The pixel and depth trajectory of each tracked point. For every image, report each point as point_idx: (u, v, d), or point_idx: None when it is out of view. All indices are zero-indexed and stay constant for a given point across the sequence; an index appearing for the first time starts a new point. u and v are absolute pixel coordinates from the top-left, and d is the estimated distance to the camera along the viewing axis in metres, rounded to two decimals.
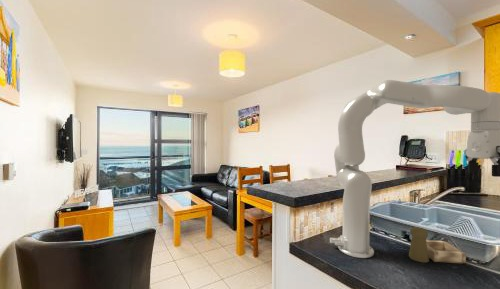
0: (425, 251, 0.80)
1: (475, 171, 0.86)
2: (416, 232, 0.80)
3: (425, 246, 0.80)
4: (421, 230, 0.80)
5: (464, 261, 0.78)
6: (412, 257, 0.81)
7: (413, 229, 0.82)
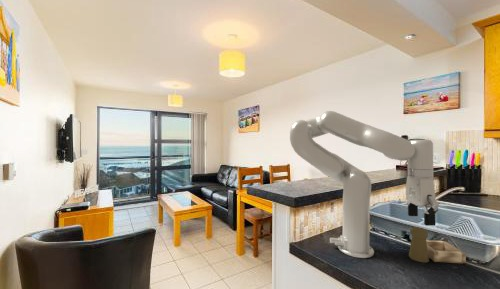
0: (425, 251, 0.80)
1: (415, 215, 0.86)
2: (416, 232, 0.80)
3: (425, 246, 0.80)
4: (421, 230, 0.80)
5: (464, 261, 0.78)
6: (412, 257, 0.81)
7: (413, 229, 0.82)
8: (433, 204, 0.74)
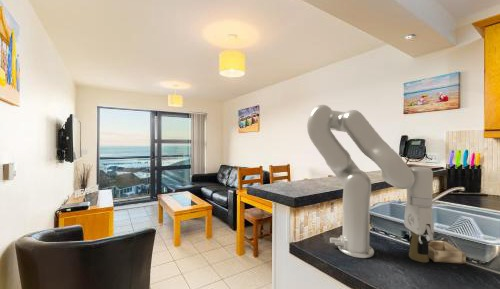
0: None
1: None
2: None
3: None
4: None
5: (464, 261, 0.78)
6: (412, 257, 0.81)
7: None
8: (428, 238, 0.76)
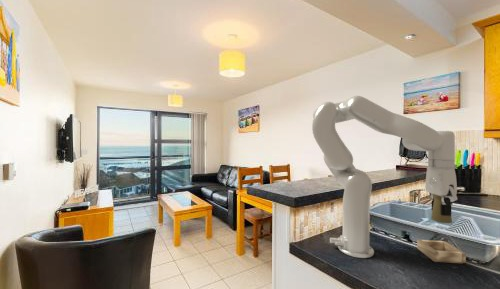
0: None
1: None
2: None
3: None
4: None
5: (464, 261, 0.78)
6: (435, 219, 0.83)
7: None
8: (452, 197, 0.78)
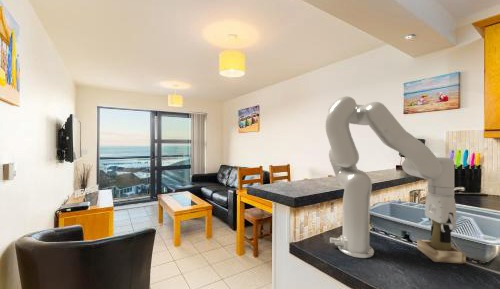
0: None
1: None
2: None
3: None
4: None
5: (464, 261, 0.78)
6: (434, 245, 0.83)
7: None
8: (451, 226, 0.78)
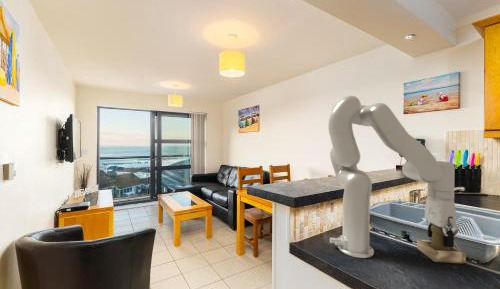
0: (446, 247, 0.81)
1: None
2: (438, 229, 0.82)
3: None
4: None
5: (464, 261, 0.78)
6: None
7: (434, 226, 0.84)
8: (453, 228, 0.77)
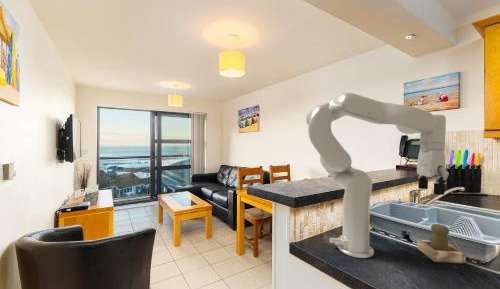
0: (446, 247, 0.81)
1: (425, 188, 0.91)
2: (438, 229, 0.82)
3: (446, 242, 0.82)
4: (442, 227, 0.82)
5: (464, 261, 0.78)
6: None
7: (434, 226, 0.84)
8: (443, 173, 0.79)
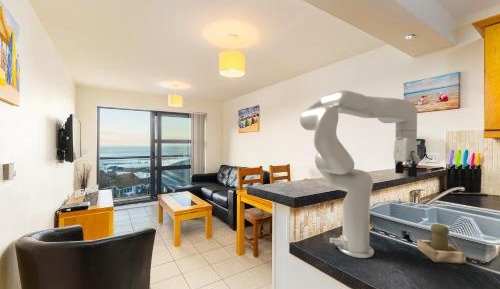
0: (446, 247, 0.81)
1: (401, 172, 1.01)
2: (438, 229, 0.82)
3: (446, 242, 0.82)
4: (442, 227, 0.82)
5: (464, 261, 0.78)
6: None
7: (434, 226, 0.84)
8: (415, 157, 0.88)
